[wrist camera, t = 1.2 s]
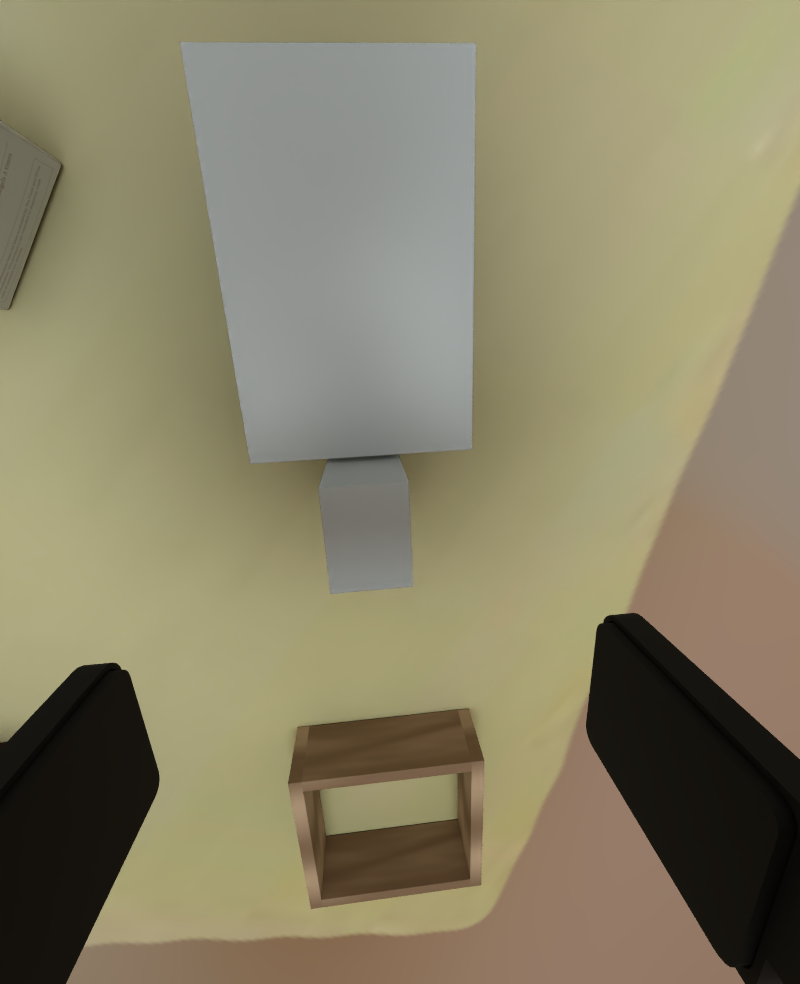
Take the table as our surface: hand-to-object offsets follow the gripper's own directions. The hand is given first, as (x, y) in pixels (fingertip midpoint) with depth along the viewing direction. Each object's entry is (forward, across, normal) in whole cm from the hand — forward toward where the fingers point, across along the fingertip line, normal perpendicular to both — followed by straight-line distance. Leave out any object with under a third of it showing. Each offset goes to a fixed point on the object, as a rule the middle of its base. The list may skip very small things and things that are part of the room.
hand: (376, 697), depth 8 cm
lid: (+11, 0, -7) cm, 13 cm away
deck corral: (+16, 0, +24) cm, 29 cm away
